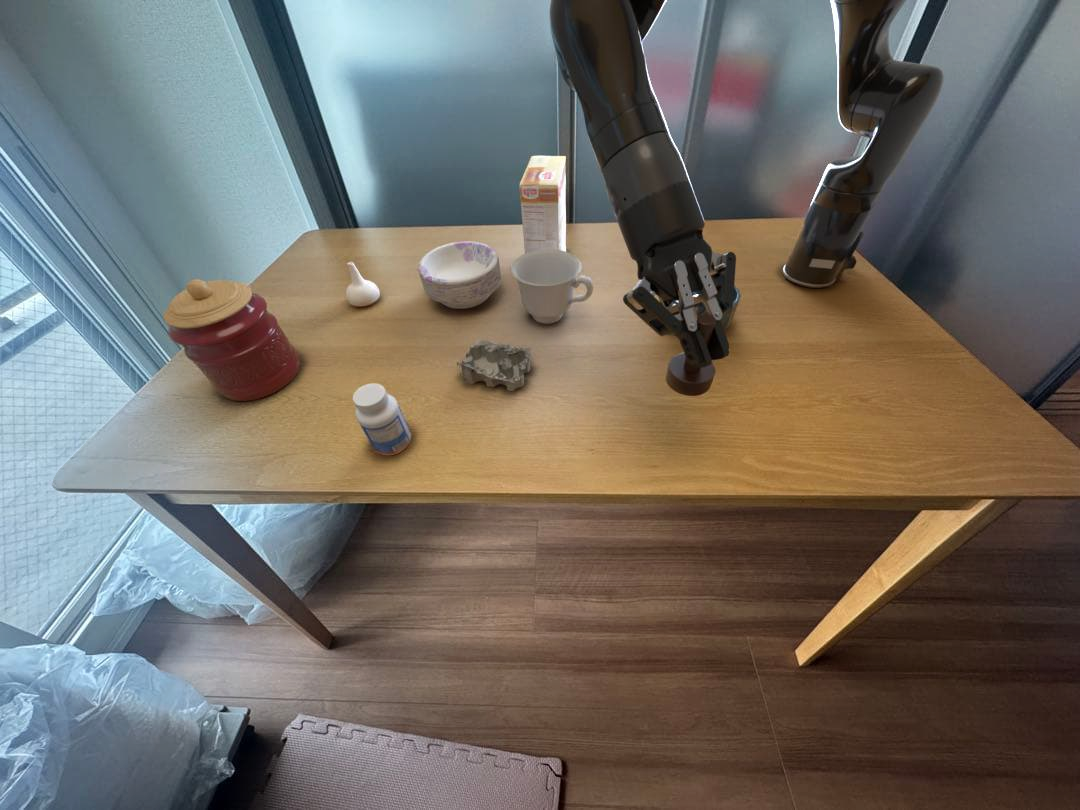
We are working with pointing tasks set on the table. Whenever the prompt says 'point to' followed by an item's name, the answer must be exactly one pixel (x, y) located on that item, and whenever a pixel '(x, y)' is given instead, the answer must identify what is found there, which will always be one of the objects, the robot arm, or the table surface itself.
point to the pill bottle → (381, 419)
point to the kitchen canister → (232, 338)
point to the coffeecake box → (544, 203)
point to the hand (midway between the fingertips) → (711, 361)
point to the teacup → (549, 283)
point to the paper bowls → (460, 273)
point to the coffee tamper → (685, 375)
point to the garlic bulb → (360, 289)
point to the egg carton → (496, 364)
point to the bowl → (729, 313)
